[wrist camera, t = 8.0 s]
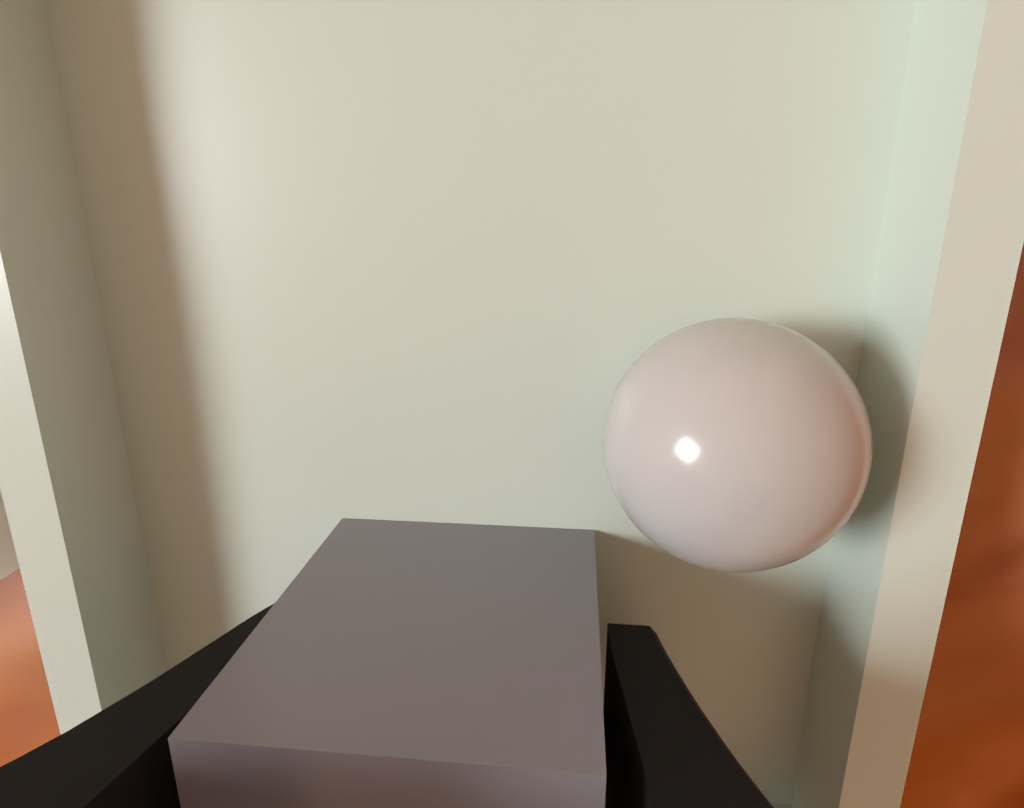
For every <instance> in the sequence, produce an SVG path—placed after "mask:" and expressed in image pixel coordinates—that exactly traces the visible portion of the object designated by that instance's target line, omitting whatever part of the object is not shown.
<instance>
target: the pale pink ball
mask: <svg viewBox="0 0 1024 808" xmlns="http://www.w3.org/2000/svg"><path fill="white" fill-rule="evenodd" d="M872 454H873V442H872V432H871V427H870V422H869V417H868V412H867V410H866V407H865V404H864V401H863V399H862V396H861V395H860V393H859V391H858V389H857V387H856V386H855V384H854V382H853V380H852V379H851V377H850V376H849V375H848V373H847V372H846V371H845V369H844V368H843V367H842V366H841V364H840V363H839V362H838V361H837V360H836V359H835V358H834V357H833V356H832V355H831V354H830V353H828V352H827V351H826V350H825V349H823V348H822V347H821V346H819V345H818V344H817V343H815V342H814V341H812V340H811V339H810V338H808V337H806V336H804V335H802V334H800V333H798V332H797V331H795V330H792V329H790V328H787V327H784V326H781V325H778V324H775V323H772V322H768V321H763V320H758V319H751V318H738V317H736V318H719V319H713V320H708V321H702V322H699V323H696V324H692V325H689V326H686V327H683V328H681V329H679V330H677V331H674V332H672V333H670V334H668V335H667V336H665V337H663V338H662V339H660V340H659V341H657V342H656V343H654V344H653V345H652V346H650V347H649V348H648V349H647V350H645V351H644V352H643V353H642V354H641V355H640V356H639V357H638V358H637V359H636V360H635V361H634V362H633V364H632V365H631V366H630V368H629V369H628V370H627V372H626V373H625V374H624V375H623V377H622V379H621V380H620V382H619V384H618V386H617V387H616V389H615V391H614V393H613V396H612V398H611V401H610V403H609V406H608V410H607V414H606V418H605V425H604V434H603V455H604V461H605V467H606V471H607V474H608V478H609V481H610V484H611V487H612V490H613V492H614V494H615V496H616V498H617V500H618V502H619V504H620V505H621V507H622V508H623V510H624V511H625V513H626V514H627V516H628V517H629V519H630V520H631V521H632V523H633V524H634V525H635V526H636V527H637V528H638V529H639V530H640V532H641V533H643V534H644V535H645V536H646V537H647V538H648V539H650V540H651V541H652V542H653V543H654V544H656V545H657V546H659V547H660V548H662V549H663V550H665V551H666V552H668V553H669V554H671V555H673V556H675V557H677V558H679V559H681V560H683V561H685V562H688V563H691V564H694V565H697V566H700V567H703V568H707V569H712V570H716V571H723V572H732V573H749V572H757V571H765V570H769V569H774V568H778V567H781V566H784V565H787V564H790V563H793V562H795V561H797V560H799V559H801V558H804V557H806V556H808V555H809V554H811V553H812V552H814V551H816V550H817V549H819V548H820V547H822V546H823V545H824V544H825V543H827V542H828V541H829V540H830V539H831V538H833V537H834V536H835V535H836V534H837V533H838V532H839V531H840V530H841V529H842V528H843V526H844V525H845V524H846V523H847V521H848V520H849V519H850V517H851V516H852V515H853V513H854V512H855V510H856V508H857V506H858V504H859V503H860V501H861V499H862V496H863V494H864V491H865V489H866V486H867V482H868V478H869V474H870V470H871V464H872Z"/></svg>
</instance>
